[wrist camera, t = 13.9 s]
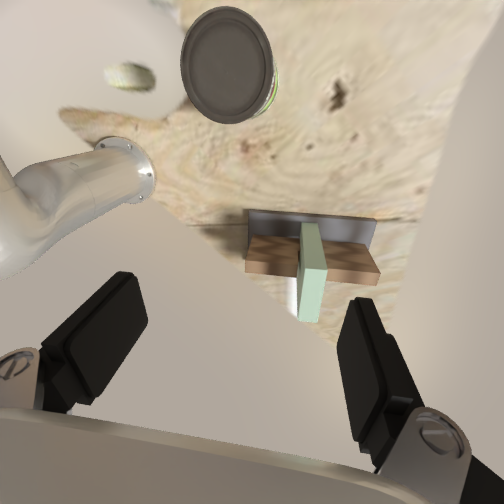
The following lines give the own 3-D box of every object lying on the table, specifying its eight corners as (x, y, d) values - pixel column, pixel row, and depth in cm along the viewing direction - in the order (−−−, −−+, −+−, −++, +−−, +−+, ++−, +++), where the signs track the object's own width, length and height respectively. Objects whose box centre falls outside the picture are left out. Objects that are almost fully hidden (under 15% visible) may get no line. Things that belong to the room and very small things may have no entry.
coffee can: (289, 54, 36) (288, 27, 24) (266, 128, 42) (255, 136, 29) (223, 28, 36) (188, -12, 24) (208, 107, 41) (173, 106, 29)
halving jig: (248, 259, 55) (239, 292, 45) (249, 209, 49) (239, 234, 39) (359, 270, 53) (374, 307, 43) (374, 218, 47) (396, 248, 37)
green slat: (296, 265, 52) (297, 320, 39) (301, 222, 47) (305, 268, 34) (310, 266, 52) (317, 322, 38) (317, 223, 47) (327, 270, 33)
